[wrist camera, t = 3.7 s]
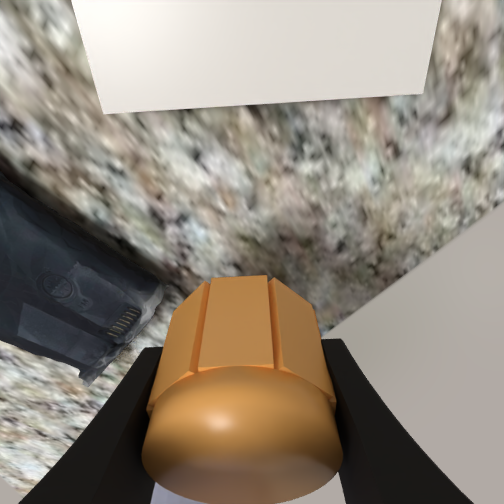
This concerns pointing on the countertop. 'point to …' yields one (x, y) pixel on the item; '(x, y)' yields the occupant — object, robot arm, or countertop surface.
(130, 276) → the electronic device
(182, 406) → the orange acorn nut
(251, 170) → the countertop surface
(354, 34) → the white base plate
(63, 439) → the countertop surface
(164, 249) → the countertop surface
